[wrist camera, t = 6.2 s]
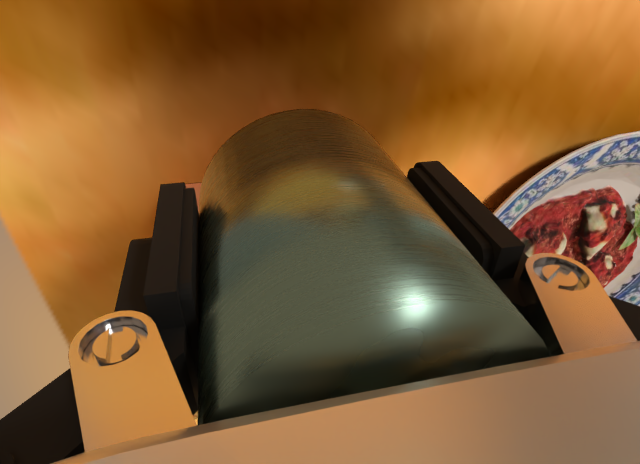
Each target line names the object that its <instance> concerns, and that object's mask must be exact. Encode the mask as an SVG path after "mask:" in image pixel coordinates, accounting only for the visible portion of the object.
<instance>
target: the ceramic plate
mask: <svg viewBox="0 0 640 464" xmlns="http://www.w3.org/2000/svg"><path fill="white" fill-rule="evenodd" d="M493 214H494V215H495V216H496V217H497V218H498V219H499V220H500V221H501V222H502V223H503V224H504V225H505V226H506V227H507V228H508V229H509V230H510V231H511V232H512V233H513V234H515V235H516V236H517V237H518V238H519V239H520V240H521V241H522V242H523V243H524V244H525V248H524V250H523V252H524V253H525V254H526V255H527V256H528V257H531V256H532V255H535V254H539V253H553V254H559V255H563V256H566V257H569V258H572V259H574V260H576V261H578V262H580V263H582V264H583V265H584V266H586V267H587V268H589V269H590V270H591V271H592V273H593V274H594V275H595V276H596V278H597V279H598V281H599V282H600V284H601V285H602V287H603V288H604V290H605V291H606V293H607V295H608V296H611V297H614V298H617V299H620V300H623V301H626V302H629V303H632V304H635V305H638V306H640V131H636V132H630V133H625V134H619V135H615V136H612V137H608V138H605V139H602V140H599V141H596V142H594V143H591V144H588V145H586V146H584V147H582V148H580V149H577V150H575V151H573V152H571V153H569V154H567V155H566V156H564V157H562V158H560V159H558V160H557V161H555V162H553V163H552V164H550V165H549V166H547V167H546V168H544V169H542V170H541V171H540V172H538V173H537V174H536V175H534V176H533V177H531V178H530V179H529V180H527V181H526V182H525V183H524V184H523V185H521V186H520V187H519V188H518V189H517V190H515V191H514V192H513V193H512V194H511V195H510V196H509V197H508V198H507V199H506V200H505V201H504V202H503V203H502V204H501V205H500V206H499V207H498V208H497V209H496V210H495V211H494V212H493Z"/></svg>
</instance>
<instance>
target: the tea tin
mask: <svg viewBox="0 0 640 464" xmlns="http://www.w3.org/2000/svg"><path fill="white" fill-rule="evenodd" d="M546 357H549V352H548V350H547V348H546V346H545V343H544V341H543V340H542V338H541V337H540V336H539V335H538V334H537V332H536V331H535V330H534V329H533V328H532V326H531V325H530V324H529V323H528V322H527V320H526V319H525V318H524V317H523V316H522V315H521V313H520V312H519V311H518V310H517V309H516V307H515V306H514V305H513V304H512V303H511V301H510V300H509V299H508V298H507V297H506V295H505V294H504V293H503V292H502V291H501V289H500V288H499V287H498V286H497V285H496V283H495V282H494V281H493V280H492V279H491V278H490V276H489V275H488V274H487V273H486V272H485V270H484V269H483V268H482V267H481V266H480V264H479V263H478V262H477V261H476V260H475V258H474V257H473V256H472V255H471V254H470V252H469V251H468V250H467V249H466V248H465V246H464V245H463V244H462V243H461V242H460V240H459V239H458V238H457V237H456V236H455V235H454V233H453V232H452V231H451V230H450V229H449V227H448V226H447V225H446V224H445V223H444V221H443V220H442V219H441V218H440V217H439V215H438V214H437V213H436V212H435V211H434V209H433V208H432V207H431V206H430V205H429V203H428V202H427V201H426V200H425V199H424V198H423V196H422V195H421V194H420V193H419V192H418V190H417V189H416V188H415V187H414V186H413V184H412V183H411V182H410V181H409V180H408V178H407V177H406V176H405V175H404V174H403V172H402V171H401V170H400V169H399V168H398V166H397V165H396V164H395V163H394V162H393V160H392V159H391V158H390V157H389V156H388V155H387V153H386V152H385V151H384V150H383V149H382V147H381V146H380V145H379V144H378V143H377V141H376V140H375V139H374V138H373V137H372V135H371V134H369V133H368V132H367V131H366V130H365V129H364V128H363V127H361V126H360V125H358V124H356V123H355V122H353V121H352V120H350V119H347V118H345V117H343V116H341V115H338V114H334V113H331V112H327V111H321V110H314V109H297V110H289V111H283V112H279V113H275V114H271V115H268V116H266V117H263V118H261V119H258V120H256V121H254V122H252V123H251V124H249V125H247V126H245V127H244V128H242V129H241V130H240V131H238V132H237V133H235V134H234V135H233V136H232V137H231V138H230V139H229V140H228V141H226V142H225V143H224V144H223V145H222V147H221V148H220V149H219V150H218V152H217V153H216V154H215V155H214V157H213V159H212V160H211V162H210V164H209V166H208V167H207V170H206V172H205V175H204V177H203V180H202V184H201V189H200V196H199V334H198V425H202V424H207V423H211V422H216V421H221V420H225V419H230V418H235V417H240V416H245V415H250V414H255V413H260V412H265V411H270V410H275V409H280V408H286V407H291V406H296V405H301V404H306V403H311V402H316V401H321V400H326V399H331V398H336V397H341V396H346V395H351V394H357V393H362V392H367V391H372V390H377V389H382V388H388V387H393V386H398V385H403V384H408V383H414V382H419V381H424V380H429V379H434V378H440V377H445V376H450V375H455V374H461V373H466V372H471V371H476V370H482V369H487V368H492V367H497V366H503V365H508V364H513V363H519V362H524V361H530V360H535V359H540V358H546Z"/></svg>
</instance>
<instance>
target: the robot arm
mask: <svg viewBox="0 0 640 464" xmlns="http://www.w3.org/2000/svg"><path fill="white" fill-rule="evenodd" d="M407 178H408V180H409V181H410V182H411V183H412V184H413V186H414V187H415V188H416V189H417V190H418V192H419V193H420V194H421V195H422V196H423V198H424V199H425V200H426V201H427V202H428V203H429V205H430V206H431V207H432V208H433V209H434V211H435V212H436V213H437V214H438V215H439V217H440V218H441V219H442V220H443V221H444V223H445V224H446V225H447V226H448V227H449V229H450V230H451V231H452V232H453V233H454V235H455V236H456V237H457V238H458V239H459V240H460V242H461V243H462V244H463V245H464V246H465V248H466V249H467V250H468V251H469V252H470V254H471V255H472V256H473V257H474V258H475V260H476V261H477V262H478V263H479V264H480V266H481V267H482V268H483V269H484V270H485V272H486V273H487V274H488V275H489V276H490V278H491V279H492V280H493V281H494V282H495V283H496V285H497V286H498V287H499V288H500V289H501V291H502V292H503V293H504V294H505V295H506V297H507V298H508V299H509V300H510V301H511V303H512V304H513V305H514V306H515V307H516V309H517V310H518V311H519V312H520V313H521V315H522V316H523V317H524V318H525V319H526V320H527V322H528V323H529V324H530V325H531V326H532V328H533V329H534V330H535V331H536V332H537V334H538V335H539V336H540V337H541V338H542V340H543V341H544V343H545V346H546V348H547V350H548V352H549V357H546V358H540V359H535V360H530V361H524V362H519V363H513V364H508V365H503V366H497V367H492V368H487V369H482V370H476V371H471V372H466V373H461V374H455V375H450V376H445V377H440V378H434V379H429V380H424V381H419V382H414V383H408V384H403V385H398V386H393V387H388V388H382V389H377V390H372V391H367V392H362V393H357V394H351V395H346V396H341V397H336V398H331V399H326V400H321V401H316V402H311V403H306V404H301V405H296V406H291V407H286V408H280V409H275V410H270V411H265V412H260V413H255V414H250V415H245V416H240V417H235V418H230V419H225V420H221V421H216V422H211V423H207V424H202V425H196V422H195V420H194V418H193V415H194V414H195V413H196V412H197V411H198V334H199V212H198V206H197V200H196V194H195V189H194V187H193V188H186V186H185V183H172V184H161V186H160V192H159V198H158V204H157V211H156V217H155V224H154V230H153V236H152V238H145V239H136V240H132V241H131V242H130V245H129V249H128V254H127V258H126V263H125V267H124V272H123V276H122V281H121V285H120V289H119V294H118V298H117V303H116V307H115V312H113V313H109V314H106V315H103V316H101V317H99V318H97V319H95V320H93V321H91V322H90V323H89V324H87V325H86V326H84V327H83V328H82V329H81V330H80V331H79V332H78V333H77V334H76V335H75V337H74V338H73V340H72V342H71V344H70V346H69V356H68V357H69V362H70V369H68V370H67V371H66V372H64V373H63V374H62V375H60V376H59V377H58V378H56V379H55V380H54V381H52V382H51V383H49V384H48V385H47V386H45V387H44V388H43V389H41V390H40V391H39V392H37V393H36V394H35V395H33V396H32V397H31V398H29V399H28V400H27V401H25V402H24V403H22V404H21V405H20V406H18V407H17V408H16V409H14V410H13V411H12V412H10V413H9V414H8V415H6V416H5V417H4V418H2V419H1V420H0V464H640V306H638V305H635V304H632V303H629V302H626V301H623V300H620V299H617V298H614V297H611V296H608V295H607V293H606V291H605V290H604V288H603V287H602V285H601V284H600V282H599V281H598V279H597V278H596V276H595V275H594V274H593V273H592V271H591V270H590V269H589V268H587V267H586V266H584V265H583V264H582V263H580V262H578V261H576V260H574V259H572V258H569V257H566V256H563V255H559V254H553V253H539V254H535V255H532V256H531V257H528V256H527V255H526V254H525V253H524V252H523V250H524V248H525V244H524V243H523V242H522V241H521V240H520V239H519V238H518V237H517V236H516V235H515V234H513V233H512V232H511V231H510V230H509V229H508V228H507V227H506V226H505V225H504V224H503V223H502V222H501V221H500V220H499V219H498V218H497V217H496V216H495V215H494V214H493V213H492V212H491V211H490V210H489V209H488V208H487V207H486V206H485V205H484V204H482V203H481V202H480V201H479V200H478V199H477V198H476V197H475V196H474V195H473V194H472V193H471V192H470V191H469V190H468V189H467V188H466V187H465V186H464V185H463V184H462V183H461V182H460V181H459V180H458V179H457V178H456V177H455V176H454V175H452V174H451V173H450V172H449V171H448V170H447V169H446V168H445V167H444V166H443V165H442V164H441V163H440V162H439V161H429V162H418V163H416V164H415V166H414V168H411V169H409V171H408V175H407Z"/></svg>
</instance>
